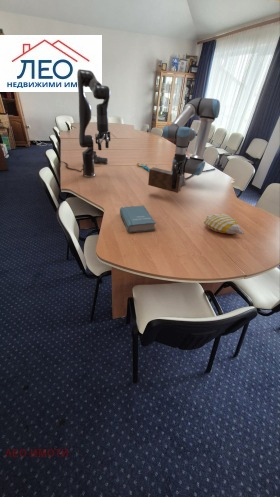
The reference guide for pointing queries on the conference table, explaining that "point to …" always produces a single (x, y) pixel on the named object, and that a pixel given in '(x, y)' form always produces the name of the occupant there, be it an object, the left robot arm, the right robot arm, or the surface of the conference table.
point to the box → (164, 179)
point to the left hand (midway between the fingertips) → (103, 149)
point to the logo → (143, 166)
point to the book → (137, 219)
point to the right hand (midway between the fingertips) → (175, 187)
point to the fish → (223, 224)
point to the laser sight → (99, 159)
